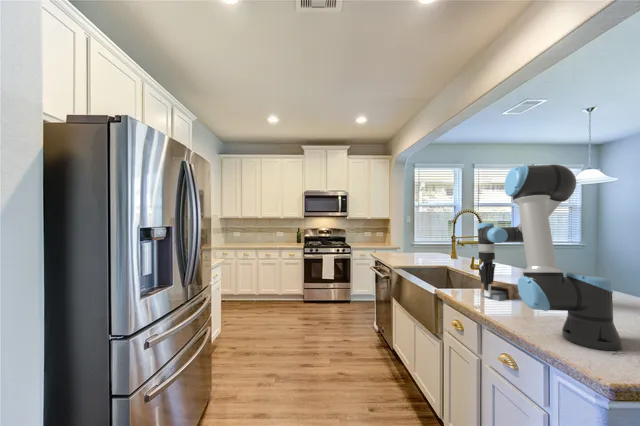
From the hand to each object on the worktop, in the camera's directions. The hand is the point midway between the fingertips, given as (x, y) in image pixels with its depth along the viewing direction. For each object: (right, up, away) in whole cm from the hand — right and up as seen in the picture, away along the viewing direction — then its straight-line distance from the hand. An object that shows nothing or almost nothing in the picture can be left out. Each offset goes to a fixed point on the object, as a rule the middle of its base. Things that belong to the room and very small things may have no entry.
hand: (487, 296), depth 151 cm
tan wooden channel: (+10, -1, +6) cm, 12 cm away
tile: (+6, -2, +3) cm, 7 cm away
